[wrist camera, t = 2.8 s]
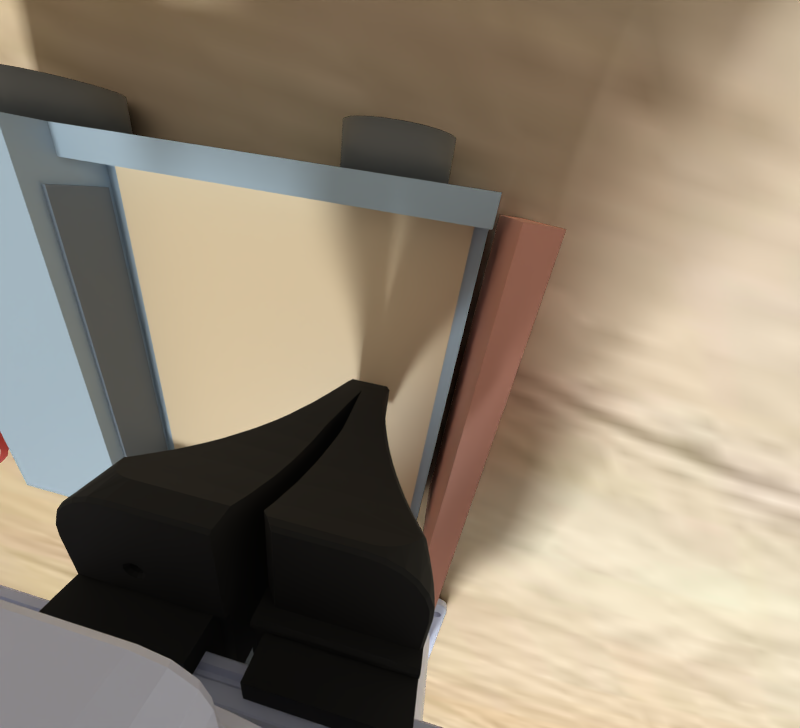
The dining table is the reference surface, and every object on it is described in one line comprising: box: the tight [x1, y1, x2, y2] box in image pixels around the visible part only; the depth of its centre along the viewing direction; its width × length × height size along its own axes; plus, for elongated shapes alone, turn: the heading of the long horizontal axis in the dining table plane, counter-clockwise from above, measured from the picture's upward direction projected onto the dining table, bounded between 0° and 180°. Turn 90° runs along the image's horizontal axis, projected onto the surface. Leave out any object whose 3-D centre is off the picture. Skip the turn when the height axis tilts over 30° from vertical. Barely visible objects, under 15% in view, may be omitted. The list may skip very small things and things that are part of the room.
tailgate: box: [423, 215, 566, 607], centre depth 12 cm, size 13×1×6 cm, turn 172°
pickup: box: [0, 64, 502, 521], centre depth 13 cm, size 16×17×5 cm
